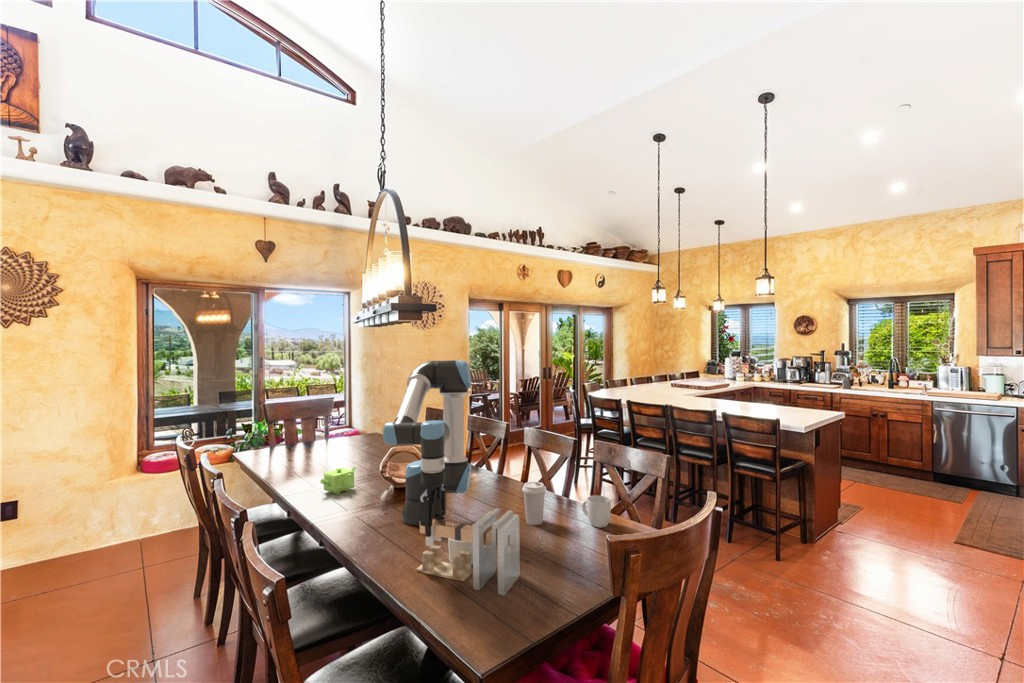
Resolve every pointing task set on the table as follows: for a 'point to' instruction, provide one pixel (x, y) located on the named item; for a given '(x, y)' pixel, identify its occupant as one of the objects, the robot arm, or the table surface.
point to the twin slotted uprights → (487, 553)
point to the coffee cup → (534, 502)
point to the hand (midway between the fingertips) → (433, 542)
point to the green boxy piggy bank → (338, 480)
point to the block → (456, 531)
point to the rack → (446, 565)
